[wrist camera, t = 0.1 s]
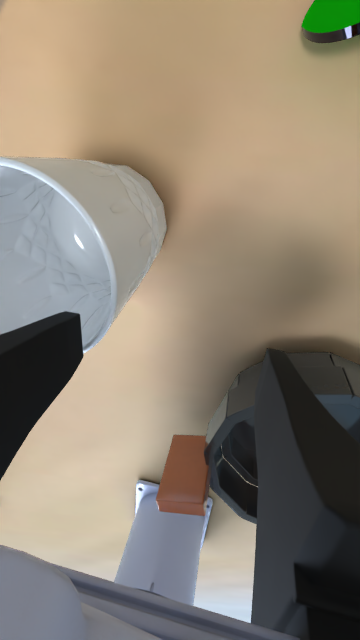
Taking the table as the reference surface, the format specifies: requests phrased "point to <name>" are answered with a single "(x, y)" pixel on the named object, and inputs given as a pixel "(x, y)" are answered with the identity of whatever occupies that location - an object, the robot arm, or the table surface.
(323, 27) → the stick construction toy
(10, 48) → the table surface
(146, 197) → the white cup
